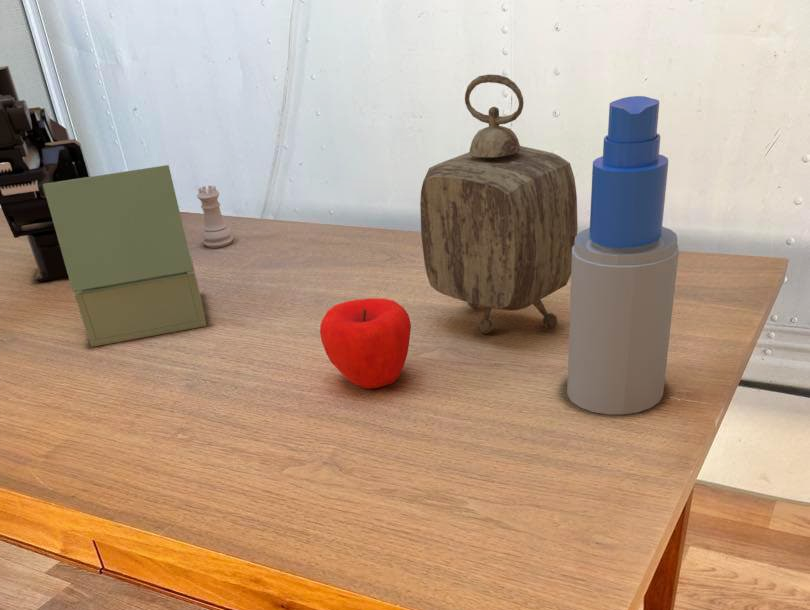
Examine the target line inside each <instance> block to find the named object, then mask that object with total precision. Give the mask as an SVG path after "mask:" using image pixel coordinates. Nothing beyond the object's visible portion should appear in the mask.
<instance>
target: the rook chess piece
mask: <svg viewBox="0 0 810 610" xmlns="http://www.w3.org/2000/svg"><path fill="white" fill-rule="evenodd" d="M207 187H208V188H207ZM207 187H206V186H205V185H204V186H203V185H202V186H201V187H198V188H197V190H198V193H197V195H196V197H197V199H199V200H200V202H201V206H200V208H201V209H202V211H203V217H204V227H203V231H202V238H203V239H204V240H203V244H204V245H205V247H207V248H210V249H219V248H223V247H226V246H228V245H230V244H231V243H232V242H233V240H234V237H233V236H231V235H232V231H231V229H230V228H229V227H228V225H227V223H225V220H224V217H223V215H222V212H221V207H220V206H221V203H220V202H219V200H218V199H219V196H220V192H219V190H217V188H216V185H207Z"/></svg>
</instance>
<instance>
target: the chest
mask: <svg viewBox="0 0 810 610" xmlns="http://www.w3.org/2000/svg"><path fill="white" fill-rule="evenodd" d="M188 249H189V254H190V258H191V262H192V266H193V271H191V272H185V273H180V274H174V275H168V276H162V277H157V278H151V279H145V280H139V281H133V282H128V283H122V284H116V285H110V286H105V287H99V288H93V289H87V290H81V291H76V292H74V298H75V302H76V304H77V308H78V310H79V313H80V316H81V319H82V323H83V325H84V328H85V331H86V334H87V337H88V341H89V343H90V347H92V348H93V347H100V346H104V345H110V344H115V343H120V342H126V341H131V340H137V339H142V338H143V339H144V338H148V337H153V336H159V335H164V334H170V333H177V332H181V331H185V330H191V329H197V328H204V327H207V321H206V315H205V311H204V310H205V309H204V306H203V300H202V296H201V291H200V287H199V284H198V283H199V282H198V279H197V275H196V270H195V267H194V263H193V262H194V261H193V258H192V254H191V249H190V247H188Z"/></svg>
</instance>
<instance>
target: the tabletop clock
mask: <svg viewBox="0 0 810 610" xmlns="http://www.w3.org/2000/svg"><path fill="white" fill-rule="evenodd" d="M487 83H492V84H500V85H503V86H505V87H507V88H509V89H510V90H511V91H512V92H513V93H514V94H515V96H516V98H517V100H518V107H517V110H515V111H514V112H513V113H511V114H508V115H506V116H501V115H500V109H499V108H498V107H496V106H491V107H490V108H489V109H488V114H483V113H482V112H480V111H478V110H476V109H475V108H474V107H473V106H472V104H471V102H470V101H471V100H470V97H471V93H472V92H473V90H474V89H475V88H476V87H477V86H479V85H481V84H487ZM464 103H465V106H466V109H467V110H468V112H469V113H470V115H471V116H472V117H473V118H475V119H476V120H478V121H479V122H482V123H484V124H488V126H487V127H484V128H482V129H479V130H478V131H477V132H476V134H475V135H474V136H473V138H472V139H471V143H470V147H469V151H468V152H466V153H463V154H460V155H458V156H455V157H453V158H449V159H447V160H444V161H442V162H439V163H437V164H435V165H433V166H430V167H428V170H427V171H426V174H425V177H424V178H423V180H422V185H421V190H420V198H419V200H420V201H419V207H420V208H419V210H420V235H421V245H422V252H423V253H422V254H423V261H424V262H423V263H424V268H425V272H426V277H427V279H428V282H429V283H428V284H429V285H430V287H431V288H433V290H435V291H436V292H438V293H440V294H442V295H444V296H446V297H450V298H452V299H455V300H460V301H462V302H465V303H467V305H468V307H470V308H471V309H477V308H479V307H483V312H484V313H483V319H481V320H479V322H478V324H477V329H478V331H479V333H481V334H483V335H488V334H489V333H491V332H492V330H493V328H494V325H493V322H492V321H491V320H490V316H491V311H492V309H495V310H502V311H508V312H514V311H520V310H523V309H527V308H528V307H530V306H532V305H533V306H534V307H535V308H536V309H537V310H538V312H539V313H540V314H541V315H542V316H543V318H542V325H543V326H544V327H546V328H547V329H553V328H555V327H556V326H557V325H558V322H559V321H558V316H557V315H556V314H555V313H552V312H548V310H547V308H546V307H545V305H544V304H543V302H542V300H543V299H544V298H546V297H548V296H550V295H552V294H553V293H555V292H557V291H558V290H561V289H562V288H564V287H565V286H567V285H568V282H569V280H570V279H571V265H572V247H573V246H574V245H575V237H576V236H577V235H578V229H579V228H578V194H577V185H576V180H575V174H574V171H573V169H572V165H571V163H570V162H569V161H567V160H566V159H565V158H563V157H562V156H560V155H559V154H556V153H553V152H550V151H546V150H542V149H537V148H532V147H528V146H522V145H521V144H520V141H519V138H518V137H517V135H516V133H515V132H514V131H513V130H512V129H511V128H510V127H506V126H503V125H506V124H510V123H511V122H515V121H516V120H517V119H518V118H519V117H520V115H522V112H523V109H524V96H523V94H522V91H521V89H520V87H519V86H518V85H517V84H516V82H514V81H513V80H512V79H510V78H509V77H507V76H503V75H500V74H484V75H479V76H477V77H475V78H474V79H472V80H471V81H470V82H469V84H468V85H467V88H466V91H465V93H464Z"/></svg>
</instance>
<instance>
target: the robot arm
mask: <svg viewBox="0 0 810 610" xmlns="http://www.w3.org/2000/svg"><path fill="white" fill-rule="evenodd" d="M86 177H92V175H91V172H90V168H89V166H88V162H87V159H86V154H85V152H84V149H83V146H82V143H80V142H79V141H78V140H77V139H76V138H74V139H73V138H72V139H71V136H70V134H69V132H68V130H67V128H65V126H63V125H61V124H60V123H58V122H56V121H55V120H53V119H52V118H51V117H50V116H49V114H48V111H47V109H46V108H45V107H44V108H42V107H40V106H36V107H28V104H27V101H26V100H25V99H22V100H20V98H19V94H18V91H17V88H16V86H15V83H14V79H13V76H12V73H11V69H10V67H9V65H5V66H0V208H1V211H2V213H3V216H4V218H5V220H6V222H7V225H8V226H9V229H10V231H11V233H12V235H13V238H14V239H18V238H19V237H27V239H28V240H27V241H28V243H29V246H30V249H31V252H32V255H33V257H34V261H35V263H36V267H37V270H36V274H35V282H37V283H41V282H46V281H51V280H58V279H64V278H69V277H68V273H67V269H66V266H65V262H64V259H63V255H62V252H61V248H60V244H59V241H58V237H57V234H56V230H55V227H54V223H53V219H52V216H51V212H50V209H49V205H48V201H47V198H46V194H45V191H44V187H43V184H46V183H53V182H59V181H66V180H73V179H79V178H86Z"/></svg>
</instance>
